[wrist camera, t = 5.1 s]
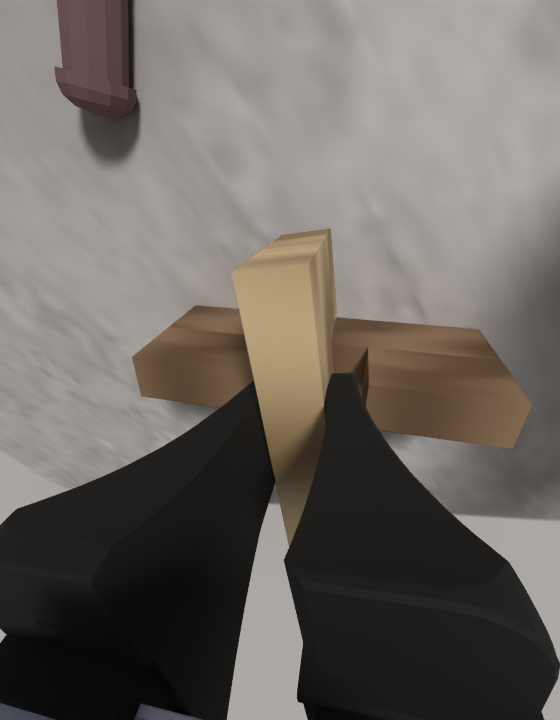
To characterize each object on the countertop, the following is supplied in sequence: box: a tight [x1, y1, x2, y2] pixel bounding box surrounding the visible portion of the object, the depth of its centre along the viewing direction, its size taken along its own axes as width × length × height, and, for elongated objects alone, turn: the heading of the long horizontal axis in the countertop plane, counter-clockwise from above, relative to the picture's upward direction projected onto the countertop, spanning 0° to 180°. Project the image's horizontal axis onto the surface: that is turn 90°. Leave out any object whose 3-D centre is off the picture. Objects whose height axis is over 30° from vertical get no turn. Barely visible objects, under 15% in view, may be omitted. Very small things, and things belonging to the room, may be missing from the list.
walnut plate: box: [132, 306, 533, 449], centre depth 13 cm, size 12×2×5 cm, turn 90°
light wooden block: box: [231, 229, 337, 547], centre depth 11 cm, size 9×2×5 cm, turn 9°
